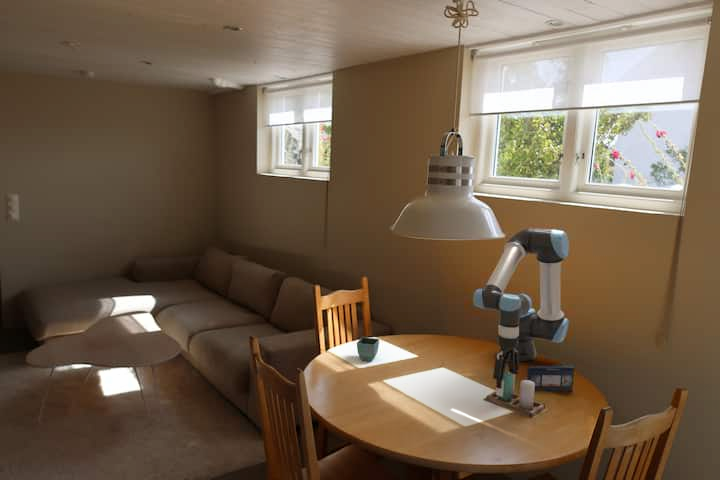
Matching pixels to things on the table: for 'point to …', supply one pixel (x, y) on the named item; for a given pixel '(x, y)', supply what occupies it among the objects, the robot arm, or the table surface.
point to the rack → (517, 405)
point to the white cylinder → (526, 394)
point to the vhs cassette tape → (551, 377)
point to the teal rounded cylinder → (507, 388)
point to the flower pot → (367, 348)
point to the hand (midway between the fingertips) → (505, 392)
